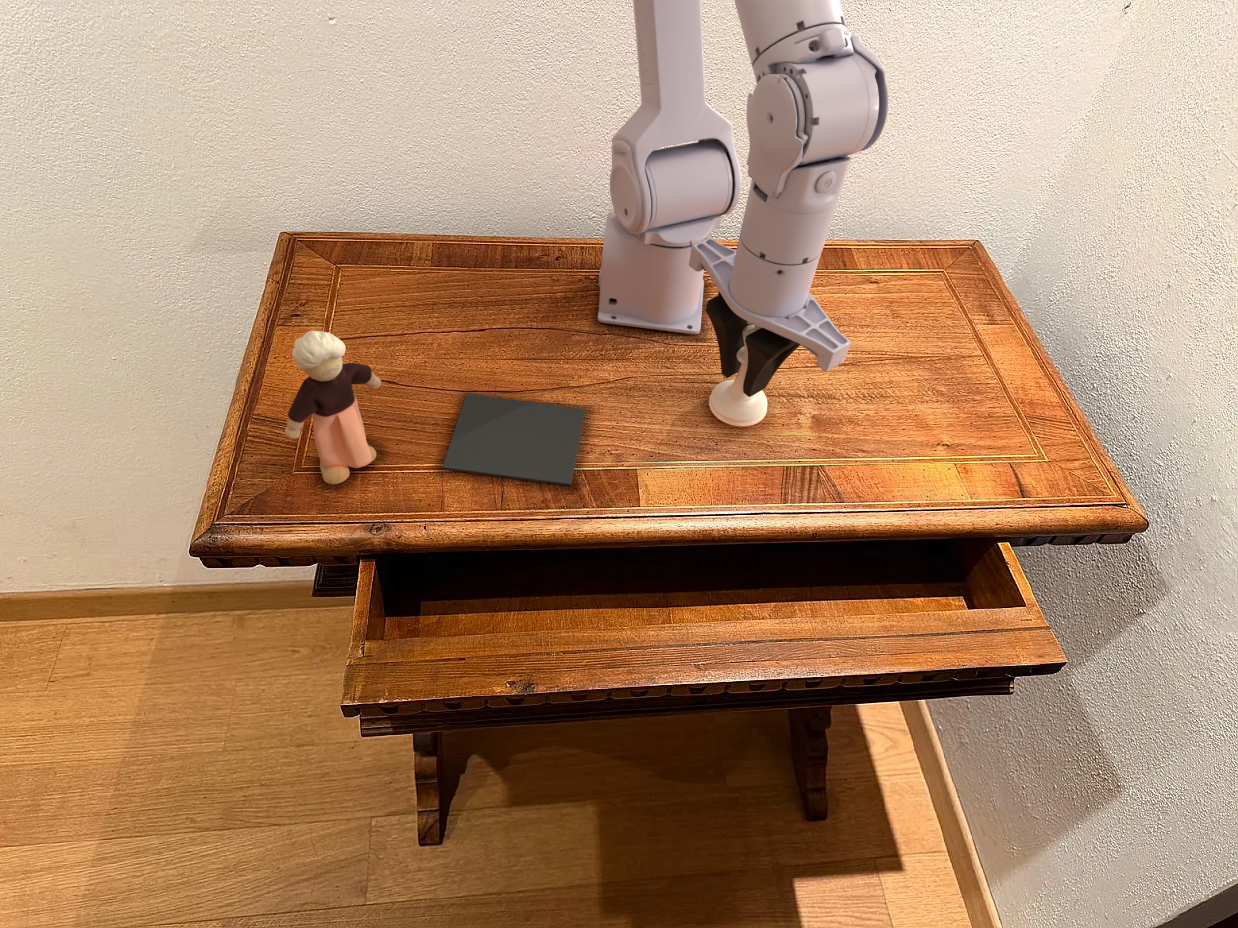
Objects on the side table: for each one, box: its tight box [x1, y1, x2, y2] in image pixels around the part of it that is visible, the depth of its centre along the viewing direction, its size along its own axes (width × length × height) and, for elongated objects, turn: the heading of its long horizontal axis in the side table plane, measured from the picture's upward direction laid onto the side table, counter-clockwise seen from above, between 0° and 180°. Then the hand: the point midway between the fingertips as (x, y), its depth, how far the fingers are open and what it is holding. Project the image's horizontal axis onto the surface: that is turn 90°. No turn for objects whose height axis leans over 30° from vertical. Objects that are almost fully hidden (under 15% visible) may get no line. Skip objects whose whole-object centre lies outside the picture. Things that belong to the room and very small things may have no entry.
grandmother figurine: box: [284, 330, 382, 485], centre depth 57 cm, size 8×4×13 cm, turn 148°
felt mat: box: [442, 393, 586, 487], centre depth 64 cm, size 10×8×1 cm
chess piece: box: [708, 321, 768, 427], centre depth 63 cm, size 5×5×10 cm
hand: (743, 380), depth 65 cm, fingers closed on chess piece
